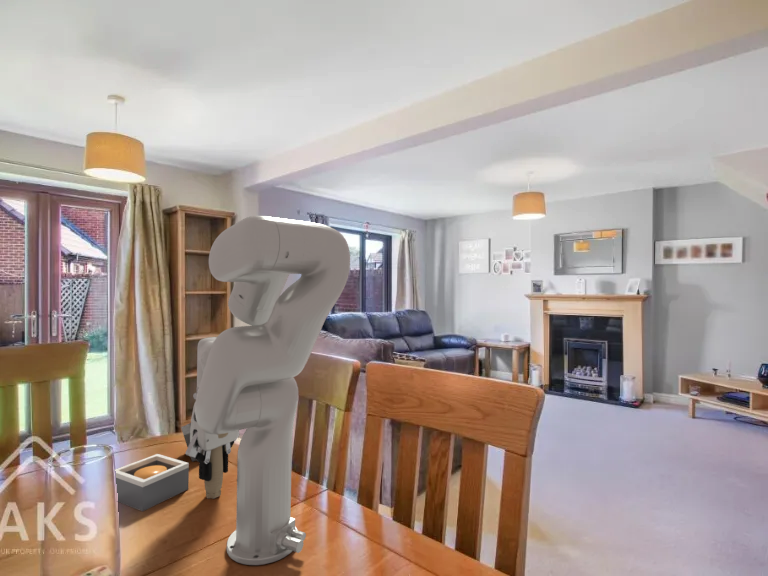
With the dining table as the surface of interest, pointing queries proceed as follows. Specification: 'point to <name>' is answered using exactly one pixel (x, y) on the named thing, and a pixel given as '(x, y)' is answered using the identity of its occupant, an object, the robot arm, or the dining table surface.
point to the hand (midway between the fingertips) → (213, 474)
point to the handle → (215, 472)
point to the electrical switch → (188, 437)
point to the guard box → (151, 482)
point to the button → (149, 471)
